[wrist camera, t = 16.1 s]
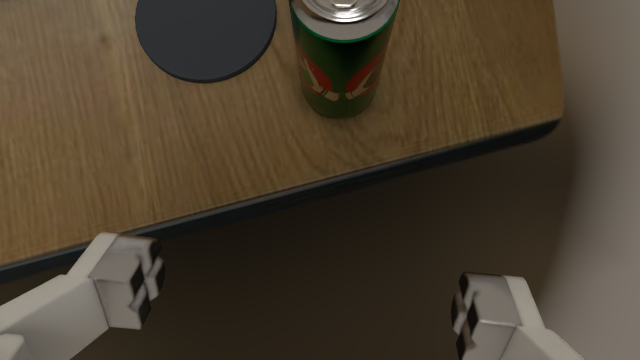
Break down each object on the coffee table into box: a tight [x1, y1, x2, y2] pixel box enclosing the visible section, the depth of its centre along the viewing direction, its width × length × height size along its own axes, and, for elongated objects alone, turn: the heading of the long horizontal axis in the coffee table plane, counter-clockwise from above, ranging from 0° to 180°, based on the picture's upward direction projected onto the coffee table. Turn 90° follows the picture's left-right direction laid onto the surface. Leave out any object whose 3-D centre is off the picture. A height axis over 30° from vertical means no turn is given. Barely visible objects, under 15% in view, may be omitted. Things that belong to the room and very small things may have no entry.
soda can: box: [289, 0, 400, 118], centre depth 24 cm, size 5×5×12 cm
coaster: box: [135, 0, 277, 83], centre depth 31 cm, size 10×10×1 cm
